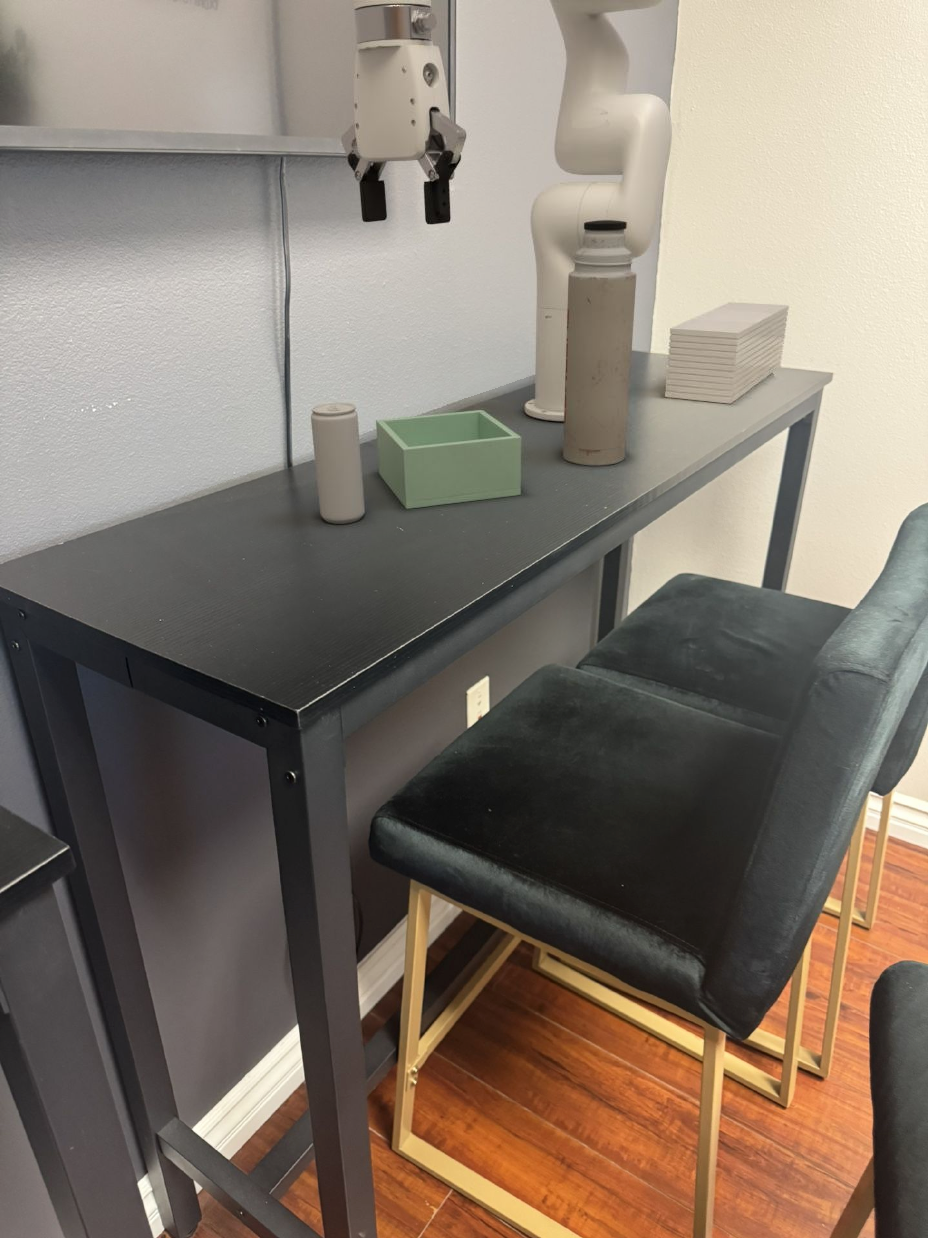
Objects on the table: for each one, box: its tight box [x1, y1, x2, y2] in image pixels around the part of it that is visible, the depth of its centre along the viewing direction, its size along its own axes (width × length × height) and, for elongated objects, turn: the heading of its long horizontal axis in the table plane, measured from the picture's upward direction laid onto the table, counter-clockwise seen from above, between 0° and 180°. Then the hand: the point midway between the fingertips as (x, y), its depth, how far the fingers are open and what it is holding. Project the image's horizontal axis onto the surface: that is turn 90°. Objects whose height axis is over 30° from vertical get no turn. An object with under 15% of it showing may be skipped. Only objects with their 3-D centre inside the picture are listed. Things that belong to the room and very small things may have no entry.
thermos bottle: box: [562, 220, 637, 467], centre depth 110 cm, size 8×8×28 cm
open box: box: [375, 409, 522, 510], centre depth 106 cm, size 14×14×7 cm
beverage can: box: [310, 401, 366, 525], centre depth 95 cm, size 5×5×12 cm
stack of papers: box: [664, 301, 790, 404], centre depth 152 cm, size 32×11×11 cm, turn 149°
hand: (405, 221), depth 96 cm, fingers open, 9 cm apart
